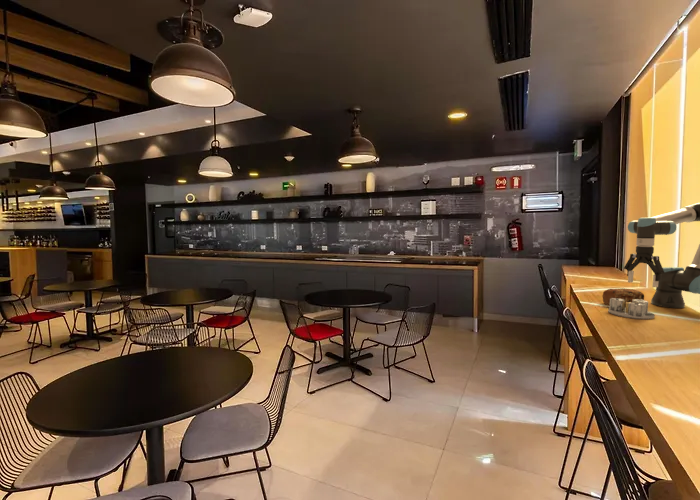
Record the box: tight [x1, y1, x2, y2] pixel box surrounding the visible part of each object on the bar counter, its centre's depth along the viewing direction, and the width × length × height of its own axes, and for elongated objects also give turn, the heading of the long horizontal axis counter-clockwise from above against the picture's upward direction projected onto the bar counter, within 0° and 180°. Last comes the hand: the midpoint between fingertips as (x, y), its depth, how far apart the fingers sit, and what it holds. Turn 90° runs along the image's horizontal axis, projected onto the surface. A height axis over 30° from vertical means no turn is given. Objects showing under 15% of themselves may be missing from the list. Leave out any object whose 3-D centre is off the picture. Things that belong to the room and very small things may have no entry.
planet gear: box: [632, 299, 649, 313], centre depth 198 cm, size 7×7×6 cm
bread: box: [602, 287, 645, 308], centre depth 217 cm, size 19×11×10 cm, turn 93°
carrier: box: [608, 298, 655, 320], centre depth 196 cm, size 20×20×8 cm
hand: (642, 284), depth 197 cm, fingers open, 13 cm apart
